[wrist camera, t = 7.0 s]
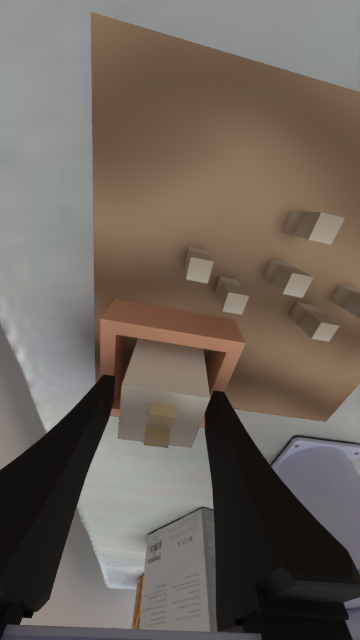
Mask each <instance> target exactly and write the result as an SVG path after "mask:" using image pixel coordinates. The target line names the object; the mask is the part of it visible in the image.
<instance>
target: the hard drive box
mask: <svg viewBox="0 0 360 640" xmlns="http://www.w3.org/2000/svg"><path fill="white" fill-rule="evenodd" d="M139 629H145V630H172V631H200V632H218V631H217V621H216V565H215V529H214V511H213V510H209V509H207V508H201V509H199V510H197V511H195V512H193V513H191V514H188V515H186V516H185V517H183V518H181V519H179V520H177V521H176V522H173V523H172V524H170V525H167V526H165V527H163V528H161V529H159V530H157V531H156V532H154V533H152V534H150V535H148V537H147V547H146V559H145V570H144V581H143V593H142V604H141V615H140V626H139Z"/></svg>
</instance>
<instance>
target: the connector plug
mask: <svg viewBox="0 0 360 640" xmlns="http://www.w3.org/2000/svg"><path fill="white" fill-rule="evenodd" d="M209 400H210V393H209V386H208V379H207V372H206V365H205V358H204V350H203V349H202V348H196V347H190V346H184V345H177V344H171V343H165V342H159V341H153V340H147V339H140V338H138V340H137V343H136V346H135V349H134V351H133V354H132V357H131V360H130V363H129V366H128V369H127V372H126V374H125V377H124V380H123V383H122V388H121V401H120V415H119V428H118V439H125V440H133V441H141V442H144V445H149V446H157V447H165V448H168V445H173V446H181V447H189V448H191V447H192V445H193V442H194V439H195V437H196V434H197V432H198V429H199V426H200V424H201V421H202V419H203V416H204V413H205V411H206V408H207V406H208V403H209Z"/></svg>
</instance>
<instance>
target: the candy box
mask: <svg viewBox="0 0 360 640" xmlns="http://www.w3.org/2000/svg"><path fill="white" fill-rule="evenodd" d="M143 581H144V574H143V576H142V577H141V578H140V579H139V580H138V581H137V589H136V598H135V606H134V614H133V621H132V629H139V626H140V615H141V604H142V593H143Z"/></svg>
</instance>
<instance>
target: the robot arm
mask: <svg viewBox="0 0 360 640" xmlns="http://www.w3.org/2000/svg"><path fill="white" fill-rule="evenodd" d="M114 391H115V376H112V375H105V374H104V375H102V376H101V377H100V379H99V380H98V381H97V383H96V384H95V385H94V386H93V387H92V389H91V390H90V391H89V392H88V393H87V394H86V395H85V396H84V397H83V399H82V400H81V401H80V402H79V403H78V404H77V405H76V406H75V407H74V408H73V409H72V410H71V411H70V412H69V413H68V414H67V415H66V416H65V417H64V418H63V419H62V420H61V421H60V422H59V423H58V424H57V425H55V426H54V427H53V428H52V429H51V430H50V431H49V432H48V433H46V434H45V435H44V436H43V437H42V438H41V439H40V440H38V441H37V442H36V443H35V444H33V445H32V446H31V447H30V448H29V449H27V450H26V451H25V452H24V453H22V454H21V455H20V456H19V457H17V458H16V459H15V460H13V461H12V462H11V463H9V464H8V465H7V466H5V467H4V468H2V469H1V470H0V640H360V475H359V473H358V472H357V470H356V469H355V467H354V466H353V464H352V463H351V462H352V461H353V460H354V459H355V458H357V457H358V456H359V455H360V445H356V444H348V443H340V442H332V441H325V440H317V439H309V438H301V437H296V438H294V439H293V440H292V441H291V443H290V444H289V445H288V446H287V448H286V449H285V450H284V451H283V452H282V454H281V455H280V456H279V457H278V459H277V460H276V461H275V462H274V464H273V465H272V466H270V465H269V463H268V462H267V461H266V459H265V458H264V456H263V455H262V454H261V452H260V451H259V449H258V448H257V446H256V445H255V443H254V442H253V440H252V439H251V437H250V436H249V434H248V433H247V431H246V429H245V428H244V426H243V424H242V423H241V421H240V419H239V418H238V416H237V414H236V412H235V411H234V409H233V407H232V405H231V403H230V402H229V400H228V398H227V396H226V394H225V393H224V392H222V391H215V390H214V391H213V393H212V396H211V398H210V401H209V403H208V406H207V408H206V411H205V435H206V443H207V450H208V457H209V464H210V471H211V479H212V489H213V507H214V529H215V565H216V621H217V631H218V632H200V631H172V630H145V629H117V628H89V627H87V628H86V627H61V626H33V625H20V623H21V620H22V618H32V616H33V613H34V612H37V611H39V609H41V608H42V607H43V606H44V605H45V604H46V602H47V601H48V600H49V599H50V595H51V591H52V588H53V584H54V581H55V577H56V574H57V570H58V567H59V563H60V560H61V556H62V553H63V550H64V546H65V543H66V540H67V536H68V533H69V529H70V526H71V523H72V520H73V516H74V513H75V509H76V507H77V504H78V500H79V497H80V494H81V491H82V488H83V484H84V481H85V478H86V475H87V472H88V470H89V467H90V464H91V462H92V459H93V457H94V454H95V452H96V449H97V447H98V444H99V442H100V440H101V437H102V435H103V432H104V430H105V427H106V425H107V422H108V420H109V416H110V413H111V410H112V406H113V403H114Z"/></svg>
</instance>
